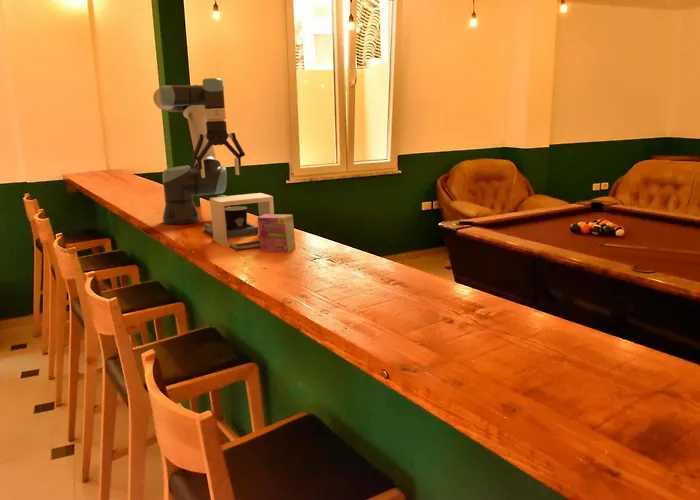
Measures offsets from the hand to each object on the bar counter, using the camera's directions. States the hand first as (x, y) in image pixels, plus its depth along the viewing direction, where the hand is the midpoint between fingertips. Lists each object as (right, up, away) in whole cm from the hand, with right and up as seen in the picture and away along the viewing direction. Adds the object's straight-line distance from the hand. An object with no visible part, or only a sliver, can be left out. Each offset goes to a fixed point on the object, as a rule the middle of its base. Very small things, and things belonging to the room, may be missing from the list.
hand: (220, 176), depth 219 cm
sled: (+5, -22, -2) cm, 22 cm away
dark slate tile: (+18, -27, -26) cm, 42 cm away
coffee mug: (+7, -23, -7) cm, 25 cm away
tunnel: (+12, -25, -16) cm, 32 cm away
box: (+27, -29, -31) cm, 50 cm away
